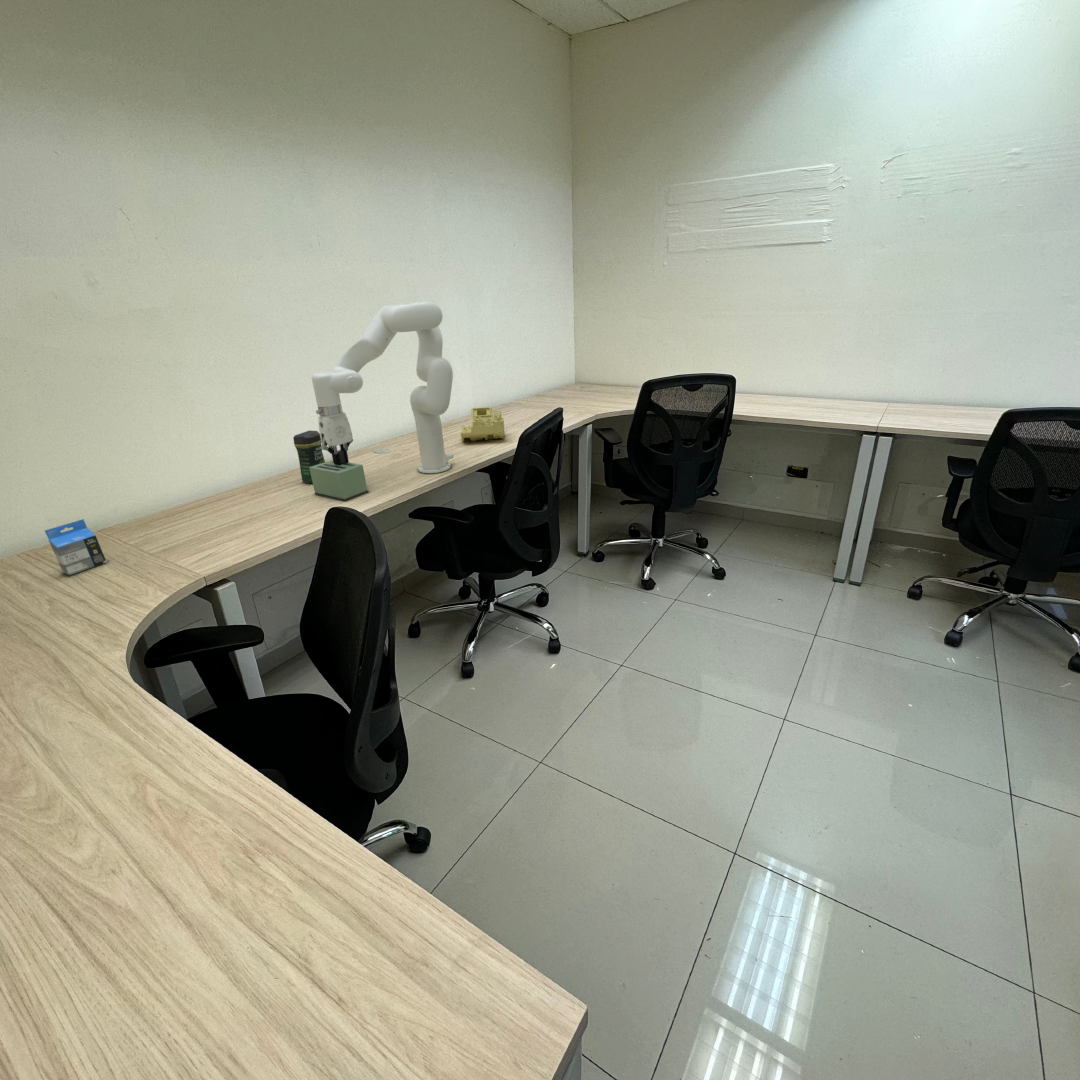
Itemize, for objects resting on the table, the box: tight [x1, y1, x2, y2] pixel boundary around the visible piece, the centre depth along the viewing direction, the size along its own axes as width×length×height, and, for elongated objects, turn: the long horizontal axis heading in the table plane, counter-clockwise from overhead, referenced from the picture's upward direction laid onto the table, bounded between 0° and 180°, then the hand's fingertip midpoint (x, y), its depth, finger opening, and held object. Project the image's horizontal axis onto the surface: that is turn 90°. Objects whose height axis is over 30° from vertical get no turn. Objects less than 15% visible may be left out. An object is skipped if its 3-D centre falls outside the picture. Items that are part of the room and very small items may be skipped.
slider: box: [337, 449, 346, 463], centre depth 192 cm, size 2×2×4 cm
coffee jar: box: [293, 430, 326, 484], centre depth 206 cm, size 10×8×19 cm
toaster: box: [309, 459, 369, 502], centre depth 192 cm, size 10×16×10 cm, turn 57°
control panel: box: [460, 406, 506, 442], centre depth 255 cm, size 24×16×20 cm
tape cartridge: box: [44, 518, 107, 576], centre depth 146 cm, size 9×4×12 cm, turn 148°
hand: (341, 463), depth 193 cm, fingers closed on slider, 2 cm apart
